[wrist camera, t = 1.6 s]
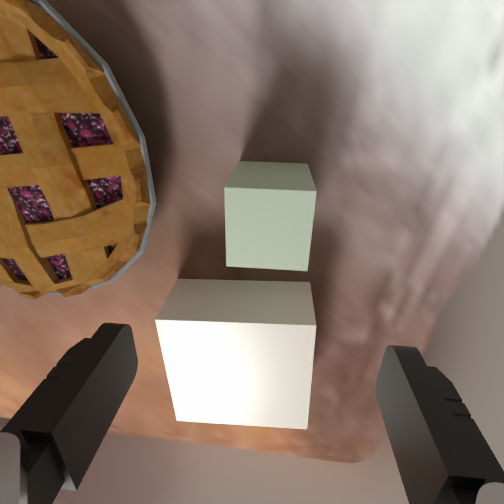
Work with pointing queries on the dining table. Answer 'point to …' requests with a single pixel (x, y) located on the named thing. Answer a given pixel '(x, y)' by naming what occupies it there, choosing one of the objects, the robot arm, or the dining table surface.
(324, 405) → the dining table surface
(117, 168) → the pie
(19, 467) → the robot arm
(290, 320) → the base box
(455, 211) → the dining table surface
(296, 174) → the sage block
